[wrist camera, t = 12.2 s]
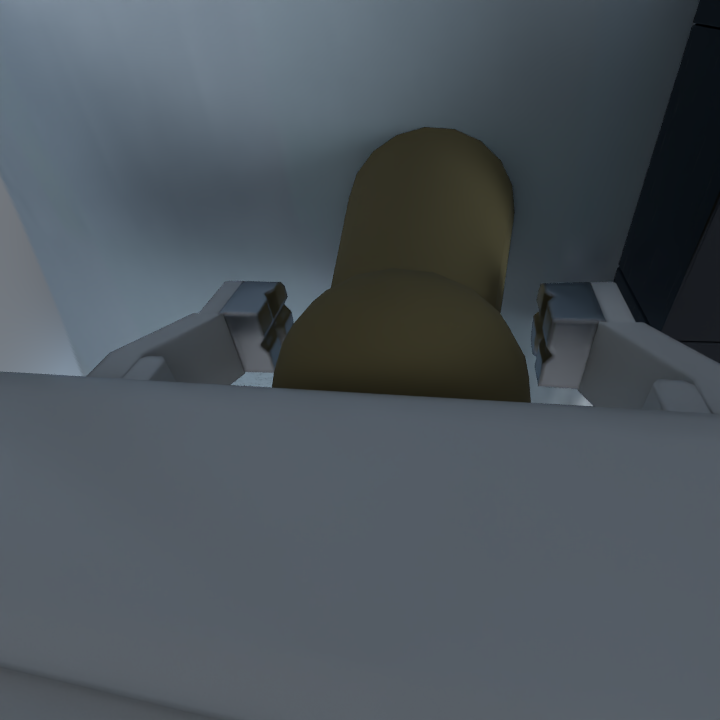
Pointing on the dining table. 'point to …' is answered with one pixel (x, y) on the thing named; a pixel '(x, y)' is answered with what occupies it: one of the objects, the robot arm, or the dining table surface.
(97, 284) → the dining table surface
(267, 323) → the robot arm
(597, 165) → the dining table surface
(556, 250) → the dining table surface
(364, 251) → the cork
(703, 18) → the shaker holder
